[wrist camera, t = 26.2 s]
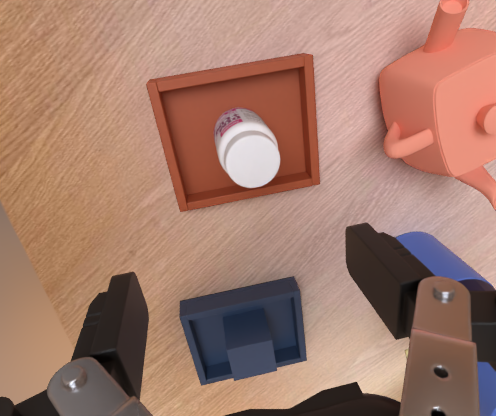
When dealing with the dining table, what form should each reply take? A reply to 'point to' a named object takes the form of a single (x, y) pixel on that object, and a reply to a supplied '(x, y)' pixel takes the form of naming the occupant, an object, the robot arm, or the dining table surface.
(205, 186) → the terracotta tray
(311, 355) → the dining table surface
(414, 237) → the water bottle
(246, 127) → the pill bottle
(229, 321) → the blue block
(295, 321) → the blue tray
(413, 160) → the teapot
